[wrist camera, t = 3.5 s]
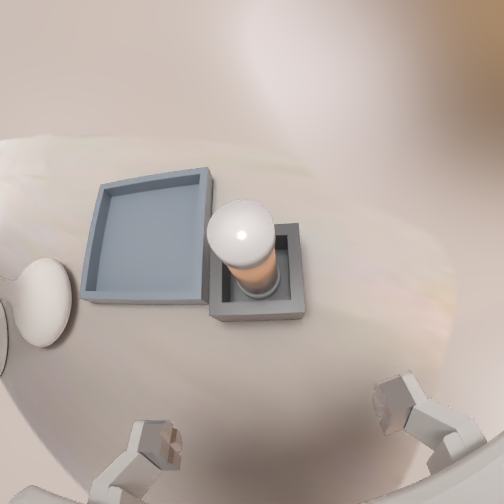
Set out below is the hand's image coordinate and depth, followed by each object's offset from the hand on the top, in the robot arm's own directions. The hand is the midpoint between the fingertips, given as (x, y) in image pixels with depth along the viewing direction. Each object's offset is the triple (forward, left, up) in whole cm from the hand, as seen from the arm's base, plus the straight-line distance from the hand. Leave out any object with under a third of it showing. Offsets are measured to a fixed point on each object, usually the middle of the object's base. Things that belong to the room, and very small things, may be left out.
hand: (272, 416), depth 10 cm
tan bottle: (-2, +9, -14) cm, 17 cm away
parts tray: (-14, +14, -15) cm, 25 cm away
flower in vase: (-29, +6, -15) cm, 34 cm away
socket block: (-2, +9, -15) cm, 18 cm away
